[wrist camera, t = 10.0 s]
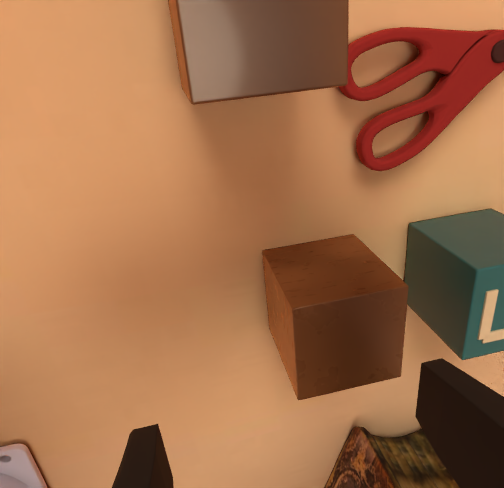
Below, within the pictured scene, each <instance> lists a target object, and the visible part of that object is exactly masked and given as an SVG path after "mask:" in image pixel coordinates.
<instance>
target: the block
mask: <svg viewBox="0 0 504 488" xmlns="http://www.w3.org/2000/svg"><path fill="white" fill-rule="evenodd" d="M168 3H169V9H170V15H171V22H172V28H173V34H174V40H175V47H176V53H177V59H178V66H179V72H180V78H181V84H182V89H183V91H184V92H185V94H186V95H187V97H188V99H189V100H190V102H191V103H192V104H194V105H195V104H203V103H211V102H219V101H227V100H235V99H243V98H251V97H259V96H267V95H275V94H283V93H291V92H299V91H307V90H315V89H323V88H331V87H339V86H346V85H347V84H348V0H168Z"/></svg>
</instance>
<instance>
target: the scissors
mask: <svg viewBox="0 0 504 488" xmlns="http://www.w3.org/2000/svg"><path fill="white" fill-rule="evenodd" d="M396 41H404V42H409V43H411V44H413V45H415V46H416V47H417V48H418V51H419V54H418V57H417V58H416V60H415V61H413V62H411V63H410V64H408V65H406V66H404V67H402V68H401V69H399V70H398V71H396V72H394V73H393V74H391V75H389V76H387V77H386V78H384V79H382V80H380V81H379V82H377V83H375V84H372V85H370V86H367V87H363V88H359V87H358V86H357V85H356V84H355V82H354V81H353V78H352V74H351V67H352V63H353V62H354V60H355V59H356V58H357V57H358V56H359V55H360V54H362V53H364V52H365V51H368V50H370V49H372V48H374V47H377V46H380V45H382V44H386V43H390V42H396ZM427 71H436V72H439V73H442V74H445V75H446V76H441V77H440V79H439V81H438V83H437V84H436V85H435V87H434V88H433V89H432V90H431V91H430V92H429V93H428V94H427V95H425V96H424V97H422V98H420V99H418V100H416V101H413V102H410V103H407V104H404V105H402V106H399V107H396V108H394V109H391V110H388V111H386V112H384V113H382V114H380V115H378V116H376V117H374V118H373V119H371V120H370V121H369V122H368V123H366V124H365V125H364V126H363V128H362V129H361V131H360V133H359V134H358V137H357V140H356V149H357V154H358V157H359V159H360V161H361V163H362V164H364V165H365V166H366V167H368V168H369V169H371V170H376V171H384V170H389V169H392V168H394V167H396V166H398V165H400V164H402V163H404V162H406V161H407V160H409V159H411V158H412V157H414V156H415V155H417V154H418V153H420V152H421V151H422V150H423V149H425V148H426V147H427V146H428V145H429V144H430V143H431V142H432V141H433V140H434V139H435V138H436V137H437V136H438V135H439V134H440V133H441V132H442V131H443V130H444V129H445V128H446V127H447V126H448V124H449V123H450V122H451V121H452V120H453V119H454V118H455V117H456V116H457V115H458V114H459V113H460V112H461V111H462V110H463V109H464V108H465V107H466V106H467V104H468V103H469V102H470V101H471V100H472V99H473V98H474V97H475V96H476V95H477V94H478V93H479V92H480V91H481V90H482V89H483V88H484V87H485V86H486V85H487V84H488V83H489V82H490V81H492V80H493V79H494V78H495V77H496V76H498V75H499V74H500V73H501V72H502V71H504V30H485V31H477V32H475V31H459V30H443V29H431V28H412V27H401V28H391V29H385V30H381V31H377V32H374V33H371V34H369V35H366V36H363V37H361V38H359V39H357V40H355V41H353V42H352V43H350V44H349V45H348V84H347V85H346V86H339V89H340V90H341V92H342V94H344V95H345V96H347V97H348V98H351V99H354V100H358V101H368V100H372V99H375V98H378V97H380V96H383V95H385V94H387V93H389V92H391V91H392V90H394V89H396V88H398V87H399V86H401V85H403V84H405V83H406V82H408V81H409V80H411V79H413V78H414V77H416V76H418V75H420V74H422V73H424V72H427ZM426 111H427V112H428V113H429V119H428V121H427V123H426V125H425V127H424V128H423V129H422V130H421V131H420V132H419V134H418V135H416V136H415V137H414V138H413V139H412V140H411V141H410V142H408V143H407V144H406V145H404V146H403V147H401V148H399V149H398V150H396V151H394V152H392V153H390V154H388V155H386V156H383V157H380V158H375V157H374V155H373V152H372V141H373V139H374V137H375V135H376V134H377V133H379V132H380V131H381V130H383V129H384V128H386V127H388V126H390V125H392V124H394V123H397V122H399V121H402V120H404V119H407V118H410V117H412V116H415V115H418V114H421V113H423V112H426Z"/></svg>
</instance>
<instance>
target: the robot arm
mask: <svg viewBox="0 0 504 488" xmlns="http://www.w3.org/2000/svg"><path fill="white" fill-rule="evenodd" d="M416 418H417V420H418V422H419V424H420V426H421V427H422V429H423V431H424V433H425V435H426V437H427V439H428V440H429V442H430V444H431V446H432V448H433V449H434V451H435V453H436V454H437V456H438V457H439V459H440V460H441V462H442V463H443V465H444V466H445V467H446V469H447V470H448V472H449V473H450V475H451V476H452V478H453V479H454V480H455V482H456V483H457V485H458V486H459V488H504V397H503V396H501V395H500V394H498V393H496V392H495V391H493V390H492V389H490V388H489V387H487V386H485V385H484V384H482V383H481V382H479V381H477V380H476V379H474V378H473V377H471V376H469V375H468V374H466V373H465V372H463V371H462V370H460V369H458V368H457V367H455V366H454V365H452V364H450V363H449V362H447V361H445V360H444V359H442V358H441V359H437V360H433V361H428V362H424V363H422V364H421V372H420V381H419V390H418V399H417V407H416ZM6 455H7V456H6ZM0 488H48V487H47V485H46V483H45V481H44V479H43V477H42V475H41V473H40V471H39V469H38V467H37V465H36V463H35V461H34V459H33V457H32V455H31V453H30V451H29V449H28V448H27V446H25V445H23V444H12V445H8V446H3V447H0ZM112 488H174V487H173V476H172V472H171V469H170V465H169V462H168V458H167V454H166V451H165V447H164V444H163V440H162V436H161V433H160V429H159V426H158V424H156V425H151V426H147V427H143V428H138V429H134V430H133V431H132V432H131V433H130V435H129V439H128V442H127V446H126V449H125V452H124V455H123V458H122V461H121V464H120V467H119V470H118V473H117V475H116V478H115V481H114V483H113V486H112Z"/></svg>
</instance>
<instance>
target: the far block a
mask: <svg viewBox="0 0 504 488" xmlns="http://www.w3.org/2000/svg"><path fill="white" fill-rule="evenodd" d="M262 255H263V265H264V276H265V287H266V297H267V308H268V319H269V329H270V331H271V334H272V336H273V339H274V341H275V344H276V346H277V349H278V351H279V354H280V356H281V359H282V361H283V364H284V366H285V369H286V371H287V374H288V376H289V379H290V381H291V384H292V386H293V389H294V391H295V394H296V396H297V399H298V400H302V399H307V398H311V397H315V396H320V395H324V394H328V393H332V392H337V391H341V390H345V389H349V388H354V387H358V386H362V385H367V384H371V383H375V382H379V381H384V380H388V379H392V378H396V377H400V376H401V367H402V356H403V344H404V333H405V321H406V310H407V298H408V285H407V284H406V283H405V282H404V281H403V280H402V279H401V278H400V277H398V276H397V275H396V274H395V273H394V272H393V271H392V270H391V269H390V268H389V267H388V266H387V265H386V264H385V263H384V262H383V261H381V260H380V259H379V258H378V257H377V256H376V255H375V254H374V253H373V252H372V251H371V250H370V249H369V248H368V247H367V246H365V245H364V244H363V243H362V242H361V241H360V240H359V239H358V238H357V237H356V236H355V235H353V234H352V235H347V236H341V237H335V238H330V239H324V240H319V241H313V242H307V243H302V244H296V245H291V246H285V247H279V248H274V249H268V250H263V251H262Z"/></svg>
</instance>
